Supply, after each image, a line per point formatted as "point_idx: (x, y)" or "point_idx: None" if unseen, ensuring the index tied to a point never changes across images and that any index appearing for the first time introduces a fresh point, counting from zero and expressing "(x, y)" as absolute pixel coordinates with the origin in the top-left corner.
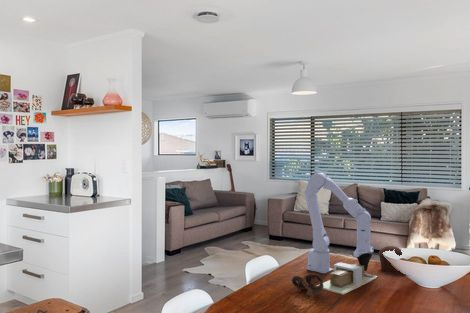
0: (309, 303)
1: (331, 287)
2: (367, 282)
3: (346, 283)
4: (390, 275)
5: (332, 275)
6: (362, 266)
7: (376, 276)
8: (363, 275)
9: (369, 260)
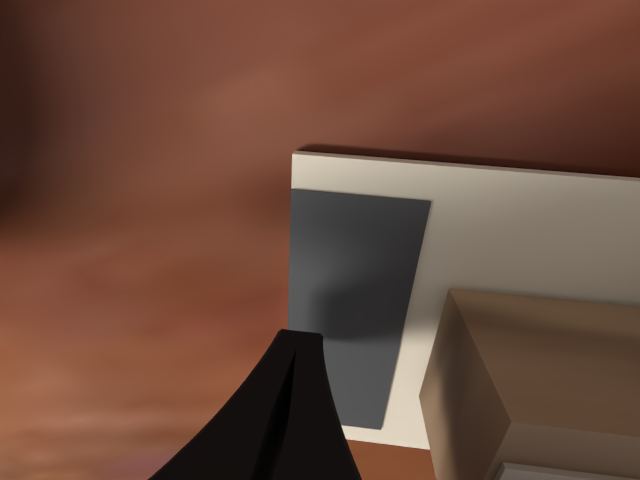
0: None
1: None
2: (634, 178)
3: None
4: (55, 32)
5: None
6: (586, 433)
7: (313, 166)
8: (479, 299)
9: (179, 453)
